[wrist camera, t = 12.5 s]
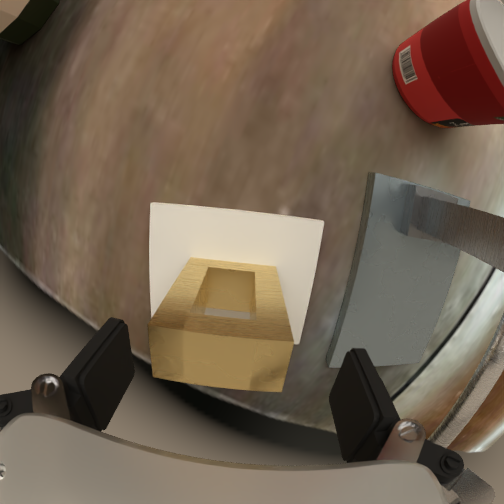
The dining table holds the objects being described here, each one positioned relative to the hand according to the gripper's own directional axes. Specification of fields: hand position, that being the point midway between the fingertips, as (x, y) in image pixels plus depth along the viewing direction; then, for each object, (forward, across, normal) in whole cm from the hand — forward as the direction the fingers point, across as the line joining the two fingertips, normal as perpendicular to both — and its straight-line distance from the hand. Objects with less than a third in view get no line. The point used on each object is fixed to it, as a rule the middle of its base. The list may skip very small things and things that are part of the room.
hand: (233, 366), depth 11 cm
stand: (+10, -13, -1) cm, 17 cm away
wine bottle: (+10, +26, -26) cm, 38 cm away
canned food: (+11, -13, -18) cm, 24 cm away
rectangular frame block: (+9, +1, 0) cm, 9 cm away
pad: (+10, +1, 0) cm, 10 cm away
